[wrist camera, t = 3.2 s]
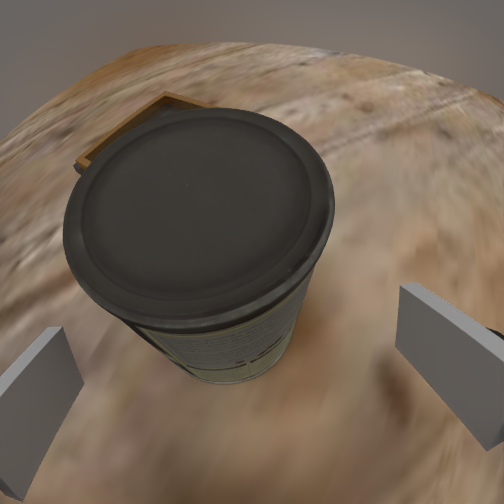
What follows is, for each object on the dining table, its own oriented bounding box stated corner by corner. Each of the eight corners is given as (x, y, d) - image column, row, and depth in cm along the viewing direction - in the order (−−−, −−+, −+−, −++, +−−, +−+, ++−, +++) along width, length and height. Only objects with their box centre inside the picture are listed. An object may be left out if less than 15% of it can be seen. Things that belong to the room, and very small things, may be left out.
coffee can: (136, 354, 22) (18, 262, 10) (190, 242, 27) (148, 97, 14) (269, 406, 20) (288, 379, 8) (310, 278, 25) (352, 132, 13)
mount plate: (76, 171, 32) (69, 158, 30) (163, 102, 38) (159, 88, 36) (179, 237, 27) (173, 222, 25) (272, 140, 33) (272, 124, 31)
